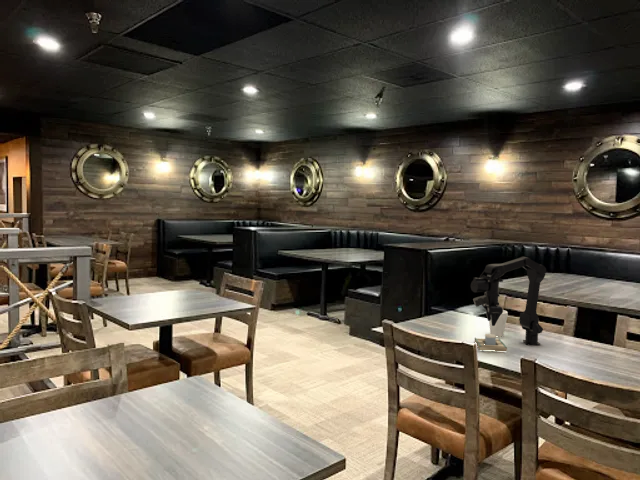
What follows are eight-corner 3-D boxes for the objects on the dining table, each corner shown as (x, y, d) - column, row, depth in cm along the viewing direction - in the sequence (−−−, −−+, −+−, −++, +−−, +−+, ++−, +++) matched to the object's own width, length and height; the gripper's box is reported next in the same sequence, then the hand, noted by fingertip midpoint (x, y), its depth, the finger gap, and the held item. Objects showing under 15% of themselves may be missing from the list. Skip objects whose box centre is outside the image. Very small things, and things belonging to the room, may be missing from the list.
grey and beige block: (484, 346, 236) (485, 333, 235) (493, 346, 236) (493, 334, 235) (486, 348, 232) (487, 336, 231) (495, 349, 231) (495, 336, 231)
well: (474, 342, 241) (474, 337, 241) (499, 343, 240) (499, 338, 240) (480, 351, 228) (480, 346, 227) (506, 352, 226) (506, 347, 226)
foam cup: (510, 337, 251) (511, 312, 250) (496, 339, 247) (497, 314, 246) (497, 332, 260) (498, 308, 258) (483, 334, 256) (484, 310, 255)
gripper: (471, 287, 241) (470, 317, 243) (478, 294, 223) (477, 327, 224) (494, 287, 240) (493, 318, 241) (503, 295, 222) (502, 328, 223)
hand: (491, 323), depth 233 cm, fingers open, 9 cm apart
